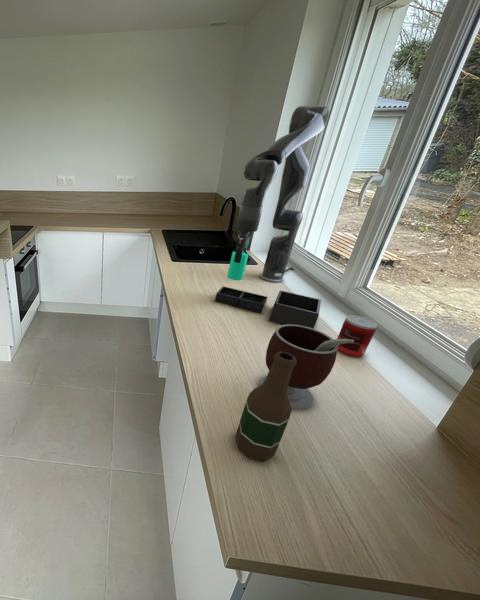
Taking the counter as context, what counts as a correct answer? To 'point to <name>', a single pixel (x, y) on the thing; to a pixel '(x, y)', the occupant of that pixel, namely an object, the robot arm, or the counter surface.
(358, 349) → the canned food
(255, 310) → the black divided tray
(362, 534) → the counter surface
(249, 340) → the counter surface
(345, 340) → the mate gourd
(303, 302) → the black open box
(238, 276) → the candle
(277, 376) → the beer bottle
